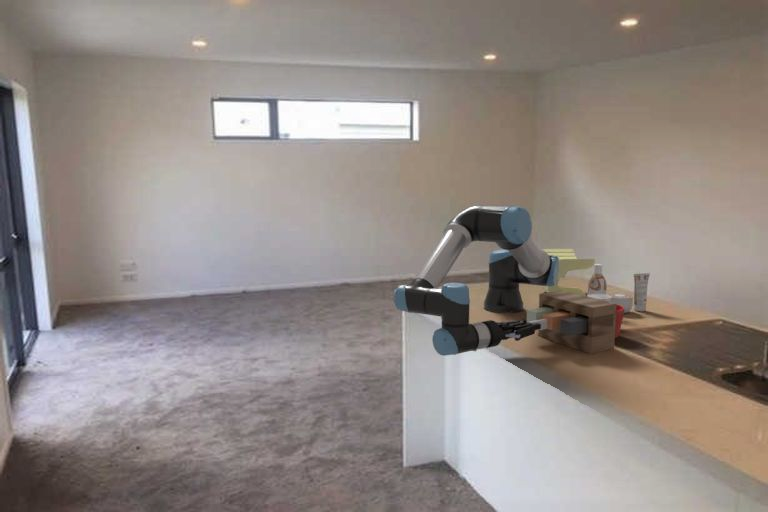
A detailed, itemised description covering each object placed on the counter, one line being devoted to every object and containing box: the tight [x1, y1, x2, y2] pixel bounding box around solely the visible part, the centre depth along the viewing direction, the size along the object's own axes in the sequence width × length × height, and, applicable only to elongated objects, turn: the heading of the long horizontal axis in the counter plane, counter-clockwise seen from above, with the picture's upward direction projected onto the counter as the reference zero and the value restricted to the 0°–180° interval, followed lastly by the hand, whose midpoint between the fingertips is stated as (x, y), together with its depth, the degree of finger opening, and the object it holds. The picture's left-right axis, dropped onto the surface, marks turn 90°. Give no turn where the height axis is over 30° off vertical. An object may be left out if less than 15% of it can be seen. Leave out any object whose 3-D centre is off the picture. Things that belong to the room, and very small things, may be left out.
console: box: [537, 291, 616, 355], centre depth 185 cm, size 22×10×14 cm, turn 29°
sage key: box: [526, 306, 554, 323], centre depth 188 cm, size 4×10×4 cm, turn 119°
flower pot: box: [615, 305, 625, 339], centre depth 192 cm, size 11×11×10 cm
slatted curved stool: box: [541, 248, 596, 296], centre depth 253 cm, size 30×16×18 cm, turn 179°
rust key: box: [543, 310, 571, 330], centre depth 182 cm, size 4×10×4 cm, turn 119°
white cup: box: [586, 294, 611, 302], centre depth 206 cm, size 8×8×10 cm
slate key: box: [560, 315, 589, 336], centre depth 176 cm, size 4×10×4 cm, turn 119°
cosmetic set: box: [587, 263, 651, 314], centre depth 222 cm, size 25×9×19 cm, turn 102°
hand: (545, 323), depth 179 cm, fingers closed
